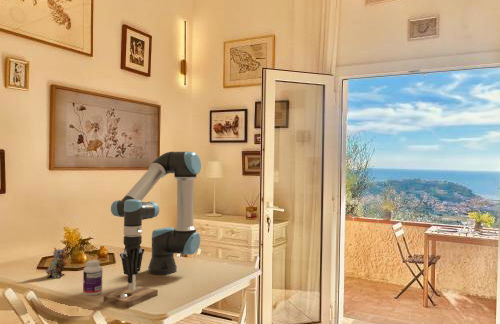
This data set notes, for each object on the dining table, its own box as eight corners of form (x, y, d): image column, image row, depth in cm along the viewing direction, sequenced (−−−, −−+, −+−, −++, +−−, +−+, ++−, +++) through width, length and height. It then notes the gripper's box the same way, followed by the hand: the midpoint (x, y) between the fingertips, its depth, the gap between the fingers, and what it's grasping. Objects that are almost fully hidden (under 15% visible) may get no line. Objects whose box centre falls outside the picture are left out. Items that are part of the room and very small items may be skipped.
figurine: (57, 273, 218) (57, 244, 218) (69, 275, 214) (69, 246, 214) (42, 277, 210) (43, 247, 210) (55, 279, 206) (55, 249, 206)
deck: (103, 302, 175) (103, 296, 175) (133, 290, 191) (133, 285, 191) (128, 308, 169) (128, 301, 169) (157, 295, 185) (157, 289, 185)
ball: (117, 301, 175) (118, 293, 175) (123, 301, 178) (124, 292, 178) (123, 303, 173) (124, 294, 174) (129, 302, 176) (130, 293, 177)
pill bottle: (86, 290, 190) (86, 259, 190) (104, 290, 191) (104, 259, 191) (80, 296, 182) (80, 263, 182) (99, 296, 183) (99, 263, 183)
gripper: (128, 238, 173) (127, 295, 173) (149, 233, 184) (148, 286, 184) (115, 236, 176) (114, 292, 176) (136, 232, 188) (135, 284, 188)
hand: (131, 289), depth 180 cm, fingers closed
